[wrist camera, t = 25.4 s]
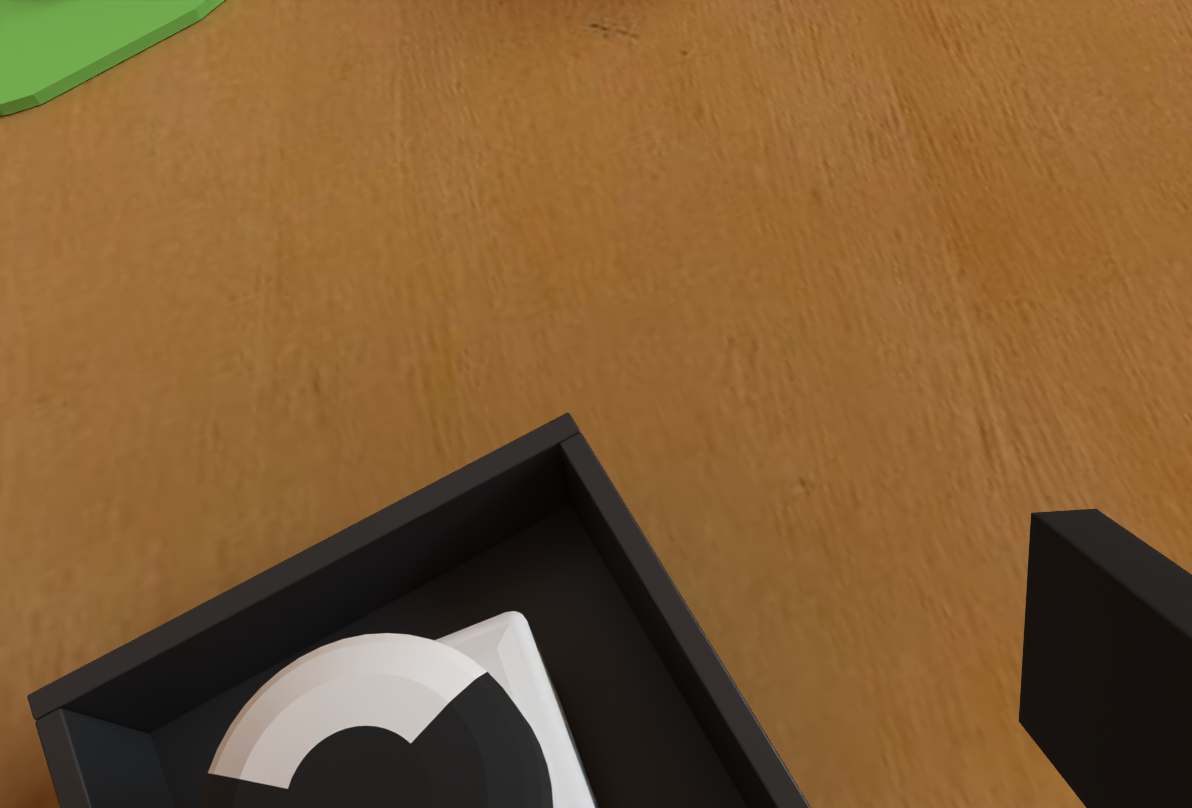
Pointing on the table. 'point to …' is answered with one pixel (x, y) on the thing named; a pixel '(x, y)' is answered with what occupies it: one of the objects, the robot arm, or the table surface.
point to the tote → (433, 610)
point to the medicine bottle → (406, 728)
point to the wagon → (78, 41)
